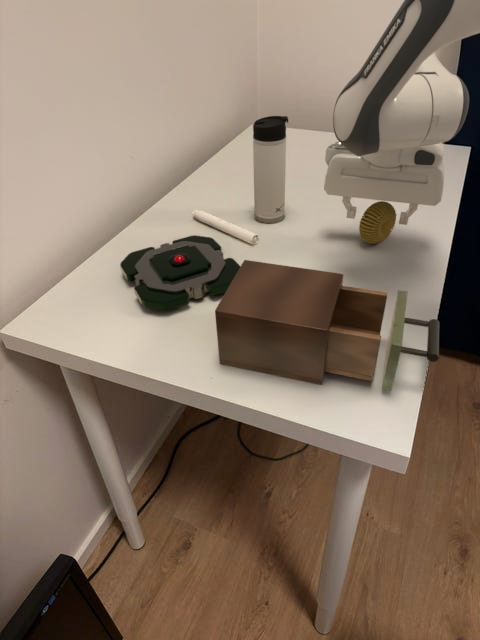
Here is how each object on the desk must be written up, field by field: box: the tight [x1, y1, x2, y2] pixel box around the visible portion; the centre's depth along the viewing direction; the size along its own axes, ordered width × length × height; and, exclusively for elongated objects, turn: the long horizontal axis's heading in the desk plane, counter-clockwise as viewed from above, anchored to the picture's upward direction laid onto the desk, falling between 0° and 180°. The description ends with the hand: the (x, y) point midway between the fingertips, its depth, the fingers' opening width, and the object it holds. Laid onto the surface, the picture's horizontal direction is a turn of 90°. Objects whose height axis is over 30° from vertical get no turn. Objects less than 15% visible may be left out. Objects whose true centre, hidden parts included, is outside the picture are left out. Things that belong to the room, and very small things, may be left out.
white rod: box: [191, 209, 260, 245], centre depth 97 cm, size 18×2×2 cm, turn 46°
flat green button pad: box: [119, 234, 241, 311], centre depth 84 cm, size 18×18×5 cm
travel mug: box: [252, 115, 289, 224], centre depth 95 cm, size 6×7×20 cm
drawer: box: [324, 285, 440, 391], centre depth 65 cm, size 18×11×8 cm, turn 72°
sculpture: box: [358, 200, 397, 245], centre depth 90 cm, size 8×4×8 cm, turn 128°
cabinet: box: [214, 259, 345, 385], centre depth 68 cm, size 15×13×10 cm
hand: (376, 220), depth 90 cm, fingers open, 8 cm apart
